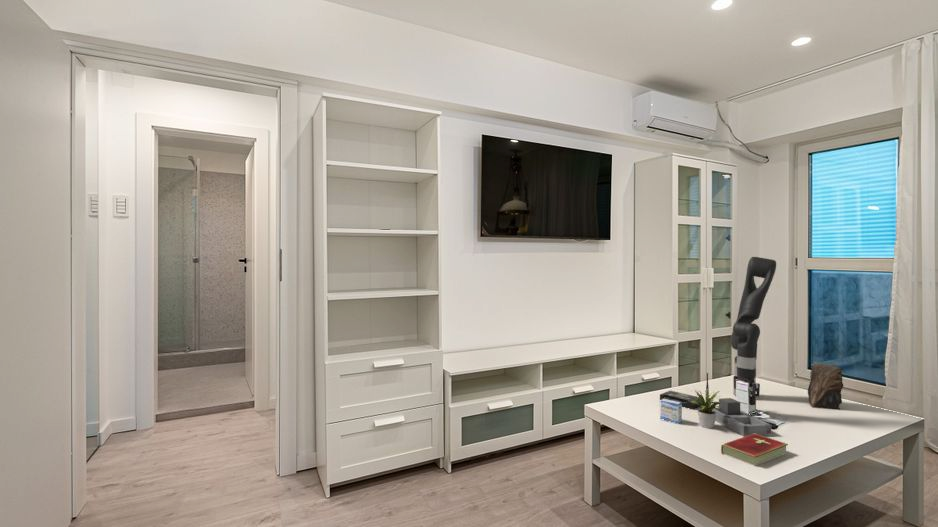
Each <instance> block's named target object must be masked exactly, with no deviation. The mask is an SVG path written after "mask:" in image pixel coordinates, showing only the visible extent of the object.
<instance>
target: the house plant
mask: <svg viewBox="0 0 938 527" xmlns="http://www.w3.org/2000/svg"><path fill="white" fill-rule="evenodd" d="M695 389H696V390H695ZM695 389H694V391H692V392H693V393H694V392H695V393H696V394H695V393H694V394H695V395H694V396H695V397H697V398H698V397H699V398H700V399H699V398H698V399H699V401H700V403H701V402H702V403H701V405H700V404H699V403H697V402H696V401H692V403H694V404H696V403H697V405H700V406H699V408H698V409H697V416H698V421H699V426H700V427H701V428H704V429H713V428H714V427H715V422H716V421H715V418H716V412H715V411H713V409H717V410H718V408H720V409H721V410H722V408H721V407H719V404H721V403H719V401H714V400H715V399H719V397H721V396H720V395H719V396H717V394H719V392H720V391H715V392H714V391H712V393H709V397H708V393H707V391H708V389H707V391H706V390H705V397H704V396H703V394H702V392H701V391H699V389H697V388H695ZM685 390H687V391H688V389H685ZM697 390H698V391H697ZM708 398H709V399H708ZM708 402H709V403H708Z"/></svg>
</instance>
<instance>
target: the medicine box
mask: <svg viewBox="0 0 938 527" xmlns="http://www.w3.org/2000/svg"><path fill="white" fill-rule="evenodd" d="M659 405H660V406H659V409H660V410H659V413H660V414H659V418H660V419H659V420H661V419H664V420H667V421H666V422H668V421H671V422H670V423H672V422H675V423H674V424H677V423H679V424H680V423H682V422H683V417H682V416H683V412H682V411H683V407H682V402H678V401H673V400H668V399H662V400H661V401H660V400H659Z"/></svg>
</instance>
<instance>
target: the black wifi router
mask: <svg viewBox="0 0 938 527" xmlns="http://www.w3.org/2000/svg"><path fill="white" fill-rule="evenodd" d="M705 386H706V388H705V391H707V389H708V391H707V393H708V397H709V398H710V396H709V395H710V392H709V391H710V390H709V373H708V372H706V385H705ZM695 396H696V395H692V394H687V393H682V392H680V391H679V392H678V391H674V390H668V391H665V392H663V393H660V394H659V401H660V400H662V399H668V400H673V401H678V402H682V408H684V407H685V408H684V409H688V408H689V409H688V410H692V409H693V410H694V409H697V408H700V405H701V403H702V402H701V403H700V401H699V399H700V398H699V396H697V397H698V398H699V399H698V398H697V397H695ZM709 398H708V399H709ZM692 401H696V402H697V403H699V404H700V405H697V403H696V404H694V403H692ZM708 403H709V402H708Z"/></svg>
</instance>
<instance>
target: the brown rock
mask: <svg viewBox="0 0 938 527" xmlns="http://www.w3.org/2000/svg"><path fill="white" fill-rule="evenodd" d="M842 370H843V368H842V367H839V366H837V365H835V364H827V363H821V362H819V361H813V362H812V367H811V371H810V372H809V373H810V382H809V384H808V388H807V396H808V401H809V404H810V407H811V408H814V409H824V410H825V409H827V410H841V408H840V405H841V404H842V403H843V400H842V399H843V398H842V390H843V387H844V383H843V375H842Z"/></svg>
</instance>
